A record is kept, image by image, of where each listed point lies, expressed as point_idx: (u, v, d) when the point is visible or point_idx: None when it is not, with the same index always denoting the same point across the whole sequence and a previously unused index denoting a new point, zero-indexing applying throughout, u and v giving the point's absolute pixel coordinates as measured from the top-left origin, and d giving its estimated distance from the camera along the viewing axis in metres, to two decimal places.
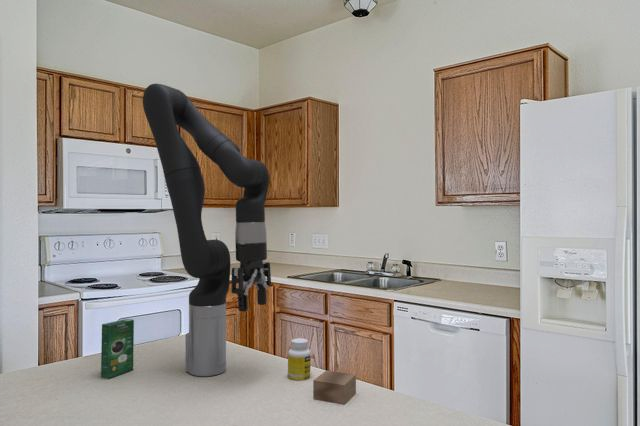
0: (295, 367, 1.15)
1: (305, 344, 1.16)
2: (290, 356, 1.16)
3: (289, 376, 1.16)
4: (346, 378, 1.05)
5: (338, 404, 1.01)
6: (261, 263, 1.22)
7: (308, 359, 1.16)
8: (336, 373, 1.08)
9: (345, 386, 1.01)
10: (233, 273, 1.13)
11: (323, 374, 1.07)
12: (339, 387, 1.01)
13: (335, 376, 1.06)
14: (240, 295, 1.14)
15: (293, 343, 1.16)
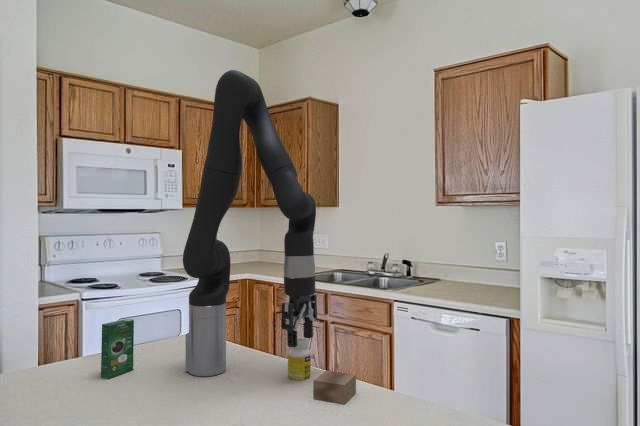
0: (295, 367, 1.15)
1: (305, 344, 1.16)
2: (290, 356, 1.16)
3: (289, 376, 1.16)
4: (346, 378, 1.05)
5: (338, 404, 1.01)
6: (309, 296, 1.19)
7: (308, 359, 1.16)
8: (336, 373, 1.08)
9: (345, 386, 1.01)
10: (283, 309, 1.11)
11: (323, 374, 1.07)
12: (339, 387, 1.01)
13: (335, 376, 1.06)
14: (290, 331, 1.12)
15: None
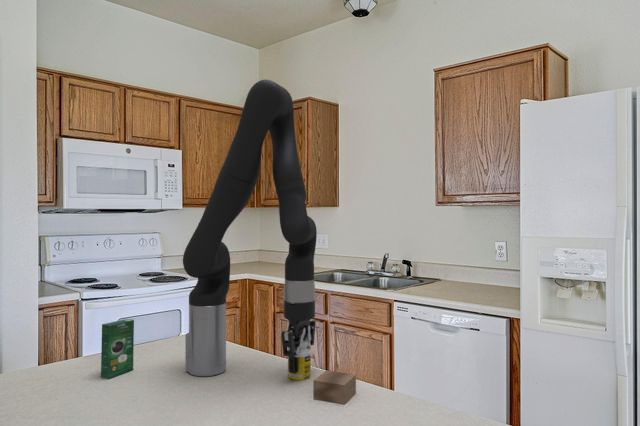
0: None
1: (305, 344, 1.16)
2: None
3: (289, 375, 1.16)
4: (346, 378, 1.05)
5: (338, 404, 1.01)
6: (308, 319, 1.20)
7: (308, 359, 1.16)
8: (336, 373, 1.08)
9: (345, 386, 1.01)
10: (283, 338, 1.12)
11: (323, 374, 1.07)
12: (339, 387, 1.01)
13: (335, 376, 1.06)
14: (291, 357, 1.14)
15: None
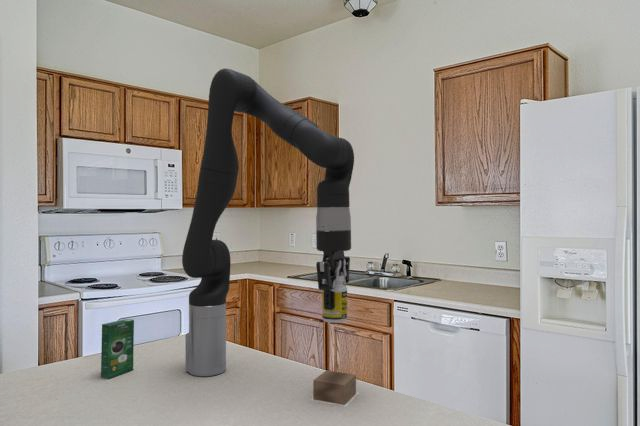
0: None
1: (342, 279, 1.05)
2: None
3: (325, 314, 1.04)
4: (346, 378, 1.05)
5: (338, 404, 1.01)
6: (343, 253, 1.08)
7: (345, 295, 1.05)
8: (336, 373, 1.08)
9: (345, 386, 1.01)
10: (319, 268, 1.00)
11: (323, 374, 1.07)
12: (339, 387, 1.01)
13: (335, 376, 1.06)
14: (327, 292, 1.02)
15: None
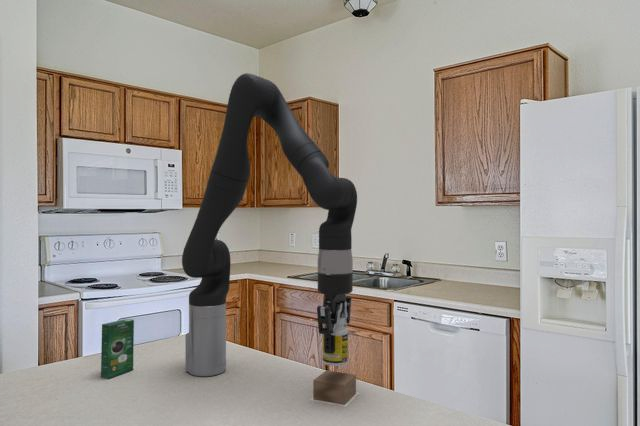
0: None
1: (343, 321, 1.04)
2: None
3: (325, 356, 1.03)
4: (346, 378, 1.05)
5: (338, 404, 1.01)
6: (344, 294, 1.07)
7: (346, 338, 1.04)
8: (336, 373, 1.08)
9: (345, 386, 1.01)
10: (319, 313, 0.99)
11: (323, 374, 1.07)
12: (339, 387, 1.01)
13: (335, 376, 1.06)
14: (327, 335, 1.01)
15: None
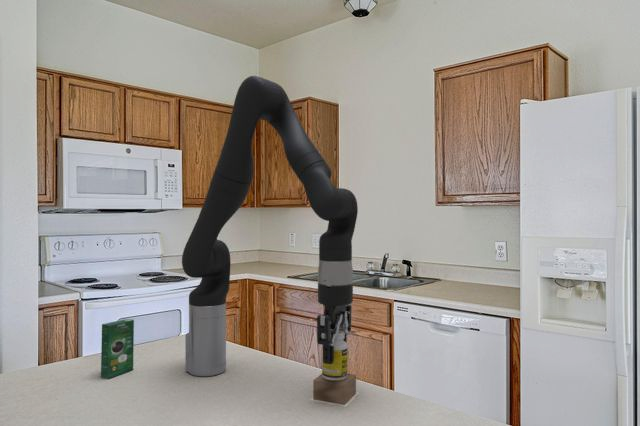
0: None
1: (342, 336, 1.04)
2: None
3: (325, 371, 1.04)
4: (346, 378, 1.05)
5: (338, 404, 1.01)
6: (344, 305, 1.07)
7: (345, 352, 1.04)
8: None
9: (345, 386, 1.01)
10: (319, 322, 0.99)
11: None
12: (339, 387, 1.01)
13: None
14: (326, 346, 1.01)
15: None
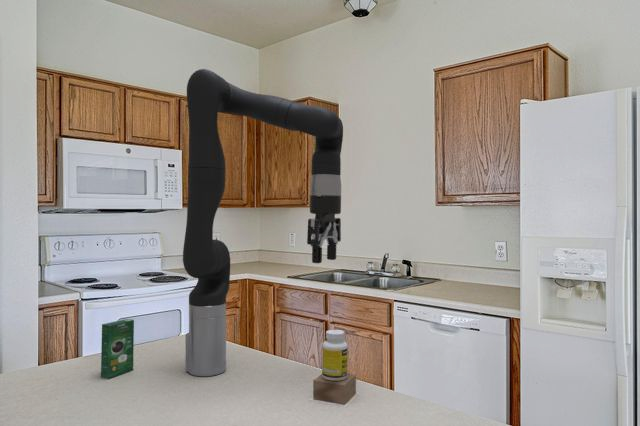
0: (331, 361, 1.03)
1: (342, 336, 1.04)
2: (325, 349, 1.04)
3: (325, 371, 1.04)
4: (346, 378, 1.05)
5: (338, 404, 1.01)
6: (333, 217, 1.21)
7: (345, 353, 1.04)
8: None
9: (345, 386, 1.01)
10: (309, 224, 1.13)
11: None
12: (339, 387, 1.01)
13: None
14: (315, 247, 1.14)
15: (328, 335, 1.04)
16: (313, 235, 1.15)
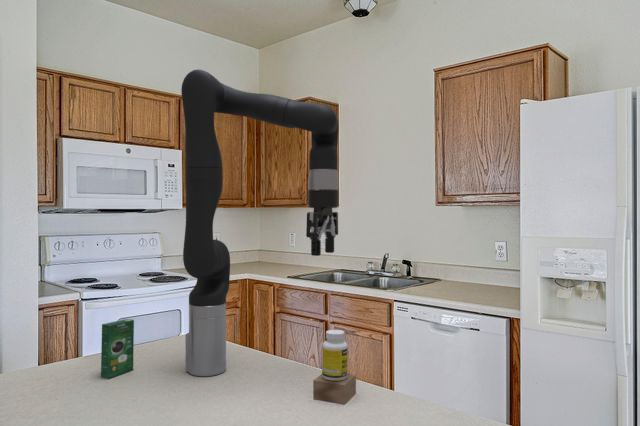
0: (331, 361, 1.03)
1: (342, 336, 1.04)
2: (325, 349, 1.04)
3: (325, 371, 1.04)
4: (346, 378, 1.05)
5: (338, 404, 1.01)
6: (331, 211, 1.24)
7: (345, 353, 1.04)
8: None
9: (345, 386, 1.01)
10: (308, 217, 1.15)
11: None
12: (339, 387, 1.01)
13: None
14: (314, 239, 1.16)
15: (328, 335, 1.04)
16: (312, 228, 1.18)
